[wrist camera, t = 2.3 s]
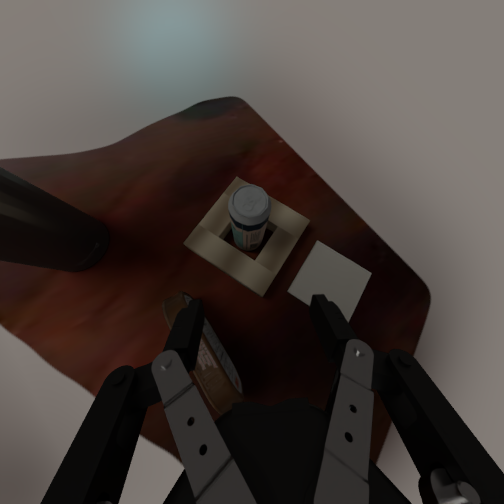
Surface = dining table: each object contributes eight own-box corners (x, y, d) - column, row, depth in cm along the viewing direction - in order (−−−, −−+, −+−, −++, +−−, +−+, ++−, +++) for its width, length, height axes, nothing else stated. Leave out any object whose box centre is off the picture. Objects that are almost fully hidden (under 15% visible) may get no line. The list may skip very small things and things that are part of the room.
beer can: (266, 231, 31) (279, 190, 19) (256, 256, 30) (263, 228, 18) (240, 220, 31) (238, 174, 20) (229, 245, 30) (219, 210, 19)
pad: (287, 291, 29) (287, 291, 28) (316, 241, 31) (317, 240, 30) (343, 328, 27) (345, 329, 27) (369, 273, 30) (371, 273, 29)
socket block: (189, 248, 30) (183, 243, 27) (237, 187, 33) (236, 176, 30) (260, 297, 28) (262, 296, 25) (304, 227, 31) (310, 220, 29)
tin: (176, 300, 28) (147, 301, 20) (194, 289, 28) (173, 284, 20) (229, 394, 25) (221, 441, 17) (248, 379, 25) (250, 417, 17)
